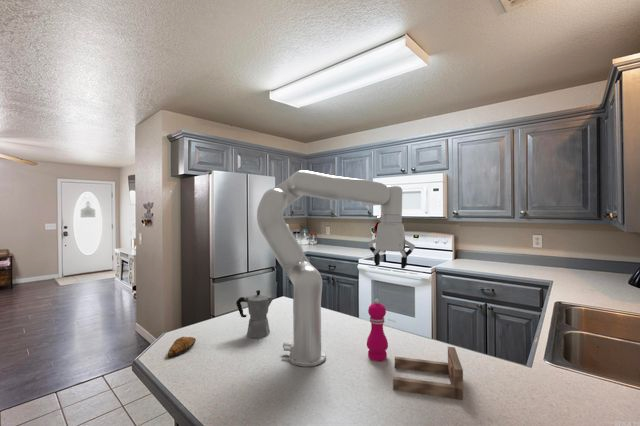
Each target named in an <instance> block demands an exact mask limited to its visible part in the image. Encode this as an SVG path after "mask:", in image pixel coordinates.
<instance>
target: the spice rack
mask: <svg viewBox="0 0 640 426" xmlns="http://www.w3.org/2000/svg"><path fill="white" fill-rule="evenodd" d="M394 368H395V369H400V370H406V371H407V370H409V371H415V372H424V373H431V374H438V375H446V376H448V379H449V381H450V383H445V382H444V383H443V382H437V381H428V380H422V379H417V378H416V379H414V378H407V377H400V376H392V390H393V391H398V392H404V393H411V394H417V395H425V396H432V397H438V398H444V399H445V398H446V399H451V400H457V401H464V369H463V366H462V364H461V360H460V358H459V356H458V353H457V350H456V347H455V346H447V362H445V361H444V362H443V361H437V360H428V359H427V360H426V359H422V358H421V359H420V358H412V357H411V358H410V357H403V356H394Z"/></svg>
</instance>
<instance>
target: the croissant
mask: <svg viewBox="0 0 640 426" xmlns="http://www.w3.org/2000/svg"><path fill="white" fill-rule="evenodd" d="M196 341H197V339H196V338H195V337H193V336H181V337H178V338H177V339H176V340H174V342H173V344H172V345H171V346H170V348H169V349H168V352H167V353H166V354H167V357H168V358H173V357H175V356H178V355H181V354H182V353H184V352H186V351H188V350H190V349H191V347H193V346H194V345H195V343H196Z"/></svg>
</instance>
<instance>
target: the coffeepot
mask: <svg viewBox="0 0 640 426" xmlns="http://www.w3.org/2000/svg"><path fill="white" fill-rule="evenodd" d="M255 293H256V294H254V295H250V296H241V297H239V298H238V299H236V307H237V309H238V313H239V315H240V318H246V317H247V315H248V314H249V320H248V325H247V331H246V335H247V337H249V338H251V339H263V338H265V337H267V336H269V335H270V333H271V331H270V325H269V319H268V317H267V316H268V313H269V308H270V305H271V303H273V300H275V297H274V296H272V295H267V294H261V290H259V289H258V290H256V291H255ZM242 303H247V304H246V305H247V308H248V314H244V310H243V308H242V307H243V306H242Z"/></svg>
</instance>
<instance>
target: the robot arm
mask: <svg viewBox="0 0 640 426" xmlns="http://www.w3.org/2000/svg"><path fill="white" fill-rule="evenodd" d="M303 196H304V197H305V196H306V197H311V198H318V199H323V200H324V199H325V200H329V201H337V202H338V201H339V202H343V201H352V202H361V203H362V204H363V205H365V206H369V207H370V206H380V215H379V216H377V217H376V219H377V221H379V222H380V223H378V224H377V229H376V235H375V238H374V239H372V240H370V241H368V242H367V245H368V247H369V250H370V252H372V255H373V258H374V259H373V261H374V262H373V263H374V265H375V266H379V265H381V264H380V263H381V254H380V252H381V251H382V252H383V251H384V252H386V251H387V252H399V253H400V254H401V255H402V256H401V261H400V262H401V263H400V264H401V265H400V267H401V269H406V266H407V265H408V256H410V255H411V254H412V253H413V251H414V250H415V248H416V245H415V244H413V243H412V242H410V241H409V240H407V239H406V233H405V232H406V231H405V226H404V223H403V188H402V187H401V186H398V185H387V184H385V183H383V182H378V181H374V180H368V179H361V178H352V177H345V176H338V175H337V176H336V175H330V174H325V173H320V172H315V171H310V170H303V169H302V170H297V171H294V173H293V174H291V176H289V177H288V178H287V179H285V180H284V181H282V182H281V183H279V184H278V185H276V186H274V187H272V188H270V189H268V190H266V191H265V192H264V193H263V195H262V197H261V199H260V201H259V203H258V205H257V210H256V220H257V225H258V228H259V230H260V232H261V235H263V237H264V239H265V240H266V242H267V244H268V245H269V247H270V249H271V250H272V252H273V254H274V257H275V259H276V261H277V263H279V266H280V267H281V268H282V269H283V271H284V273H285V274H286V277H288V279H289V280H290V281H291V283H292V285H293V298H292V299H293V300H292V303H293V304H292V305H293V306H292V311H293V312H292V313H293V317H292V318H293V320H292V321H293V330H292V331H293V333H292V334H293V341H292V342H289V341H288V342H286V341H284V342H283V343H282V348H283V351H284V352H289V354H288V359H289V362H290V363H292V364H293V365H296V366H299V367H307V368H308V367H315V366H318V365H320V364H323V363H324V362H325V360H326V357H327V354H326V352H325V351H324V350H323V349H322V292H323V278H322V275H321V273H320V272H319V270H318V269H317V268H316V267H315V266H314V265H312V264H311V263H310V261H309V259H308V258H307V256H306V255H305V253H304V249H303V247H302V245H301V244H300V243H299V242H298V240H297V238H296V237H295V236H294V234H293V232H292V231H291V230H290V228H289V226H288V224H287V223H286V221H285V218H284V211H285V209H287V207H289V206H290V205H292V204H293V203H295V202H297V201H298V200H300V198H302V197H303ZM374 244H375V247H374ZM406 246H407V247H409V248H408V250H406Z"/></svg>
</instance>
